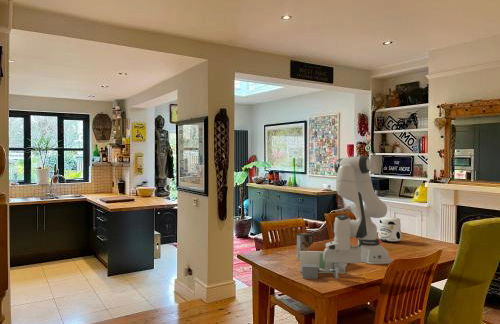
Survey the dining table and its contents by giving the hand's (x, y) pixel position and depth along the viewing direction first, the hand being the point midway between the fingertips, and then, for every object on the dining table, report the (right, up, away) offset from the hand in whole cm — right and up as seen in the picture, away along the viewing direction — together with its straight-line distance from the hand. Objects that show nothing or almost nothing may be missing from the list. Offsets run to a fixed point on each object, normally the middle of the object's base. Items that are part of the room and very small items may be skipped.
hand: (341, 270), depth 202 cm
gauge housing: (-9, -4, +4) cm, 11 cm away
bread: (-2, -4, +27) cm, 27 cm away
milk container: (+61, -4, +92) cm, 110 cm away
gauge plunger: (-8, -3, +3) cm, 9 cm away
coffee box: (-14, -4, +39) cm, 42 cm away
